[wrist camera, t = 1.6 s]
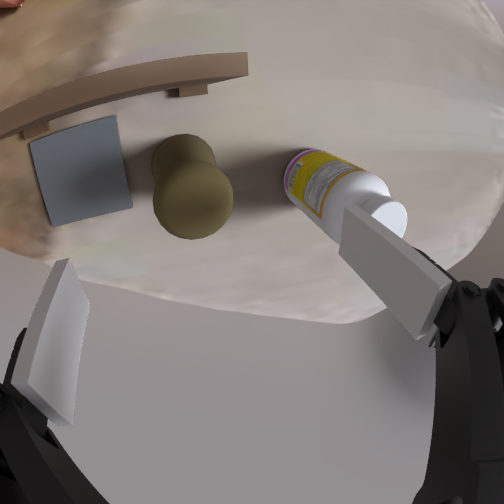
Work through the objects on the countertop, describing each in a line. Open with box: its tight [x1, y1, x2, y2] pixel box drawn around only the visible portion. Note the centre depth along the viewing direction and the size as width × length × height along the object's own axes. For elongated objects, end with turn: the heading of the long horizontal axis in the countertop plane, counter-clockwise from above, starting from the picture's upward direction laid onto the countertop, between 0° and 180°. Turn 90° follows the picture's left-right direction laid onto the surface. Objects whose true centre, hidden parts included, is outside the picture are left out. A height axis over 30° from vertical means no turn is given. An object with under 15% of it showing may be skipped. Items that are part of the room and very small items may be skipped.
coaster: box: [30, 115, 133, 227], centre depth 22 cm, size 9×9×1 cm
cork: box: [152, 134, 233, 240], centre depth 21 cm, size 6×6×11 cm
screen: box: [0, 52, 248, 140], centre depth 14 cm, size 3×18×13 cm, turn 93°
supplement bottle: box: [284, 149, 407, 244], centre depth 25 cm, size 7×7×13 cm
